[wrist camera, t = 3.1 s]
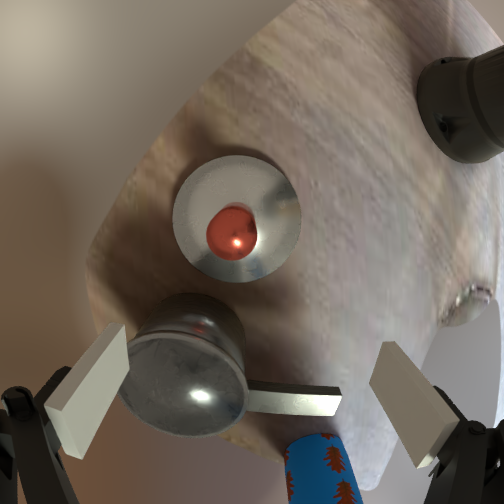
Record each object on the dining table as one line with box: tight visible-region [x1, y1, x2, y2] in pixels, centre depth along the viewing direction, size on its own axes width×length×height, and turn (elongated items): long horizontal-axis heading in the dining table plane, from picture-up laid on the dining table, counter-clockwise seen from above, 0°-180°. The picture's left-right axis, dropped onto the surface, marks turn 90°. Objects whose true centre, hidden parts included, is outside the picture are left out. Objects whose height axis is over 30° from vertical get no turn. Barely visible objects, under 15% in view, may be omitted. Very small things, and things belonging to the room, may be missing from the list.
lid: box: [173, 155, 301, 283], centre depth 28 cm, size 14×14×10 cm
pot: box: [117, 293, 342, 438], centre depth 32 cm, size 14×23×11 cm, turn 80°
